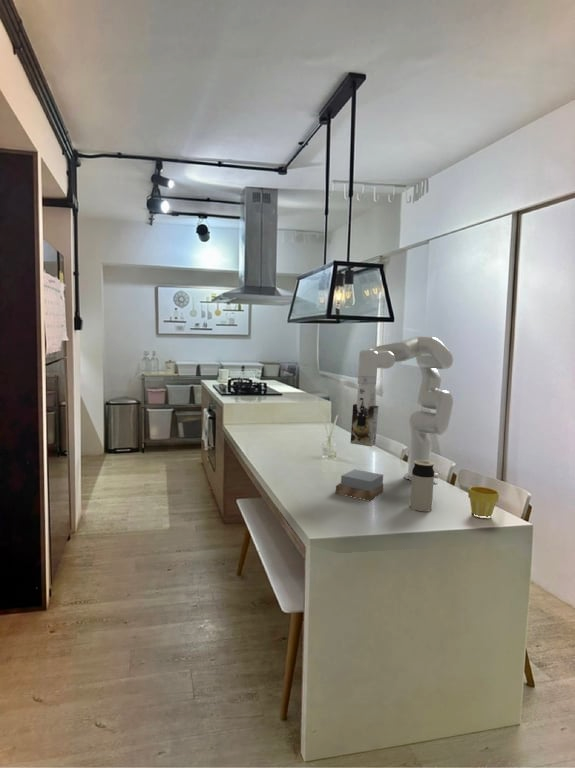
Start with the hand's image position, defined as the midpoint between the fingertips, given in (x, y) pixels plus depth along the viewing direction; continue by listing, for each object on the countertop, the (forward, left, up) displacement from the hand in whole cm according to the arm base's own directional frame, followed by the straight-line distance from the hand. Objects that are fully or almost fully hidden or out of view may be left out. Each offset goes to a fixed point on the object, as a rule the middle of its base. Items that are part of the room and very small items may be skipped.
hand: (364, 424), depth 202 cm
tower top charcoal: (0, 0, -25) cm, 25 cm away
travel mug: (-26, +4, -29) cm, 39 cm away
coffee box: (0, 0, -8) cm, 8 cm away
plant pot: (-47, -2, -29) cm, 55 cm away
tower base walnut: (0, 0, -29) cm, 29 cm away
